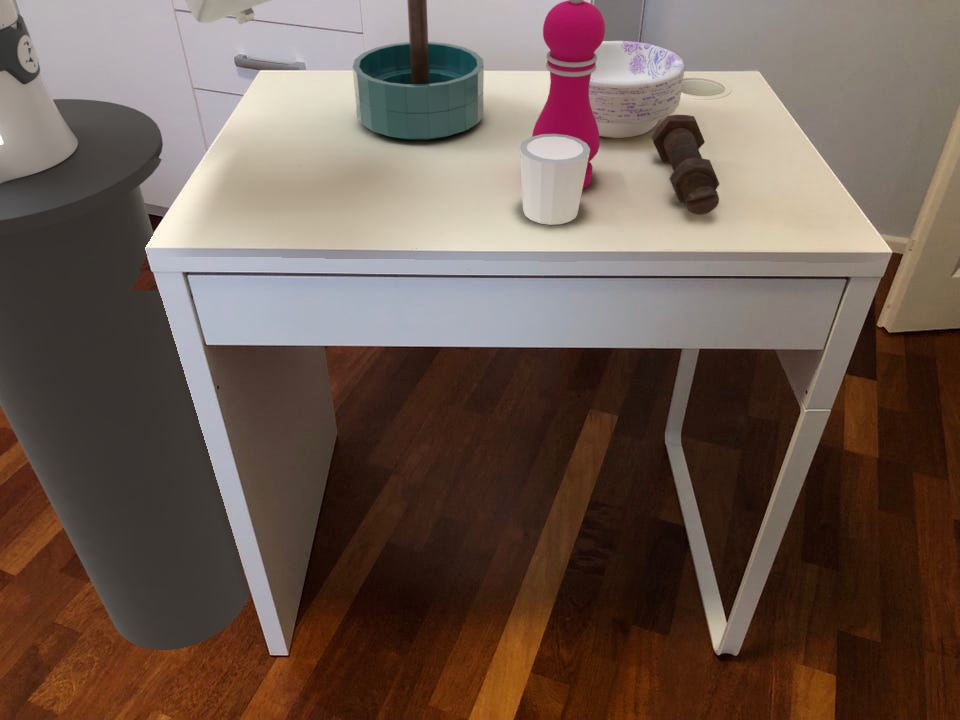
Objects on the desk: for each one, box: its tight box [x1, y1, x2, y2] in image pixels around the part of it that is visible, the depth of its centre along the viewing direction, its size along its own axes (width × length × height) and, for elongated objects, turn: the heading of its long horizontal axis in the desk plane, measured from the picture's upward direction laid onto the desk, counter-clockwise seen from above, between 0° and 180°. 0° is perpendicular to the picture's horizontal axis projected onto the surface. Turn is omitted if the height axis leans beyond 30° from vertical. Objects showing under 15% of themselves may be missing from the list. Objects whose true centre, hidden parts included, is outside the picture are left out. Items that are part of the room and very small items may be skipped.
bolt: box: [651, 114, 720, 215], centre depth 84 cm, size 6×5×15 cm
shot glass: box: [519, 134, 590, 226], centre depth 79 cm, size 7×7×7 cm
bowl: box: [352, 41, 485, 141], centre depth 98 cm, size 16×16×7 cm
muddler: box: [406, 0, 430, 84], centre depth 94 cm, size 4×4×18 cm
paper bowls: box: [589, 40, 686, 139], centre depth 96 cm, size 15×15×8 cm
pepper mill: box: [531, 0, 606, 190], centre depth 81 cm, size 7×7×20 cm
